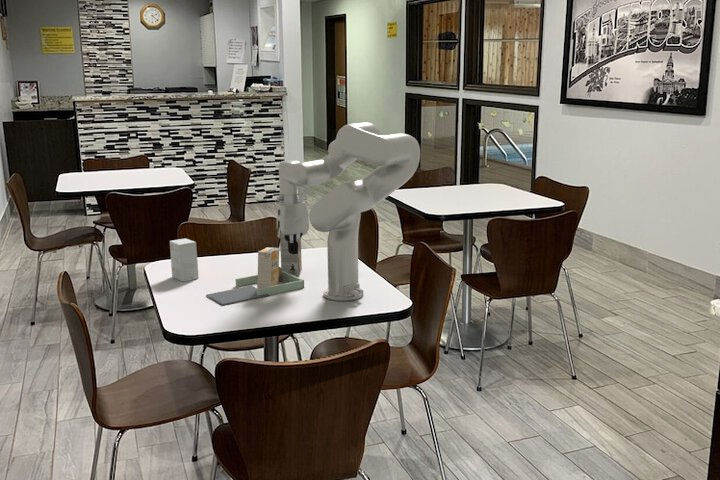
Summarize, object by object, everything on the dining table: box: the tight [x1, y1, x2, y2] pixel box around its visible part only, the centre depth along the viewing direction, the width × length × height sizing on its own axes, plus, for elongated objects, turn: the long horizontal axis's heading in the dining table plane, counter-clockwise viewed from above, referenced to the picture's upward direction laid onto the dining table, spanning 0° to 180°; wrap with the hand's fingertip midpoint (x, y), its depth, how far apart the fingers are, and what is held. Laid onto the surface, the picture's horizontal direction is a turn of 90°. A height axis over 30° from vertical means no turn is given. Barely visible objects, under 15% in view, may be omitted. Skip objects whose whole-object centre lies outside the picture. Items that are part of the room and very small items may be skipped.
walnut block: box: [278, 266, 283, 284], centre depth 241 cm, size 4×4×5 cm
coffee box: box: [279, 234, 303, 278], centre depth 249 cm, size 9×6×16 cm
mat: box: [205, 285, 270, 306], centre depth 226 cm, size 12×16×1 cm
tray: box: [235, 271, 305, 296], centre depth 235 cm, size 15×17×2 cm
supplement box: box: [256, 247, 280, 289], centre depth 231 cm, size 8×5×13 cm, turn 168°
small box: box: [169, 237, 199, 283], centre depth 246 cm, size 8×6×13 cm
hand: (293, 253), depth 236 cm, fingers closed
